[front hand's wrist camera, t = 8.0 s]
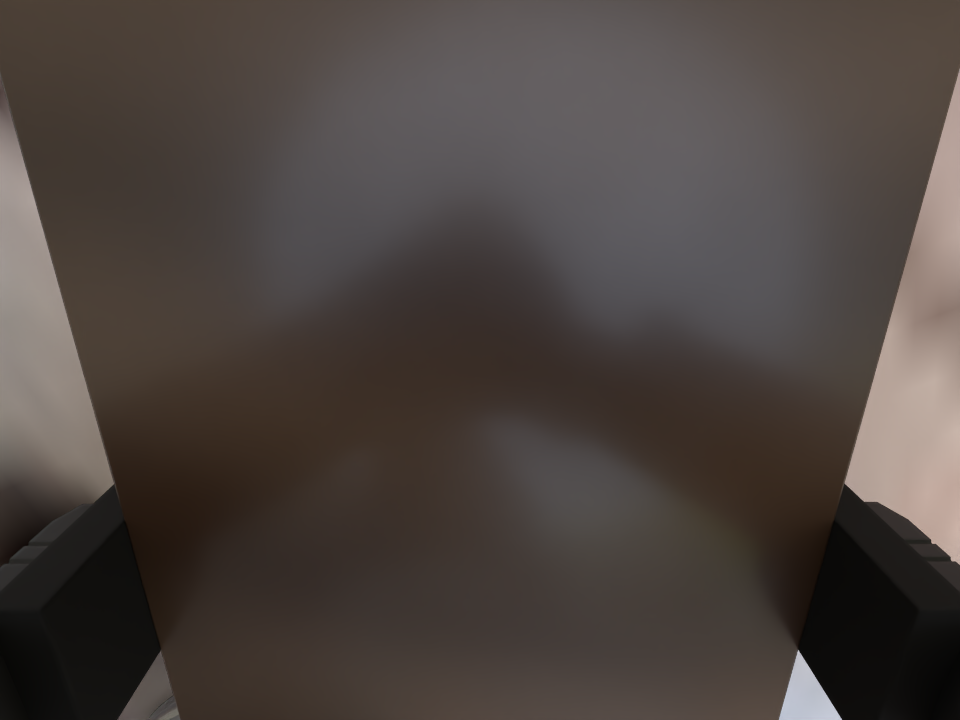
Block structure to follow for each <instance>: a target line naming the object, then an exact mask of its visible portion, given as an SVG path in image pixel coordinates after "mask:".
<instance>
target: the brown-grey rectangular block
mask: <svg viewBox="0 0 960 720" xmlns="http://www.w3.org/2000/svg"><path fill="white" fill-rule="evenodd" d="M959 69H960V0H0V77H1V81H2V84H3V88H4V91H5V95H6V98H7V102H8V106H9V109H10V113H11V116H12V120H13V123H14V127H15V131H16V134H17V138H18V141H19V145H20V148H21V152H22V156H23V159H24V163H25V166H26V170H27V173H28V177H29V181H30V184H31V188H32V191H33V195H34V199H35V202H36V206H37V209H38V213H39V216H40V220H41V224H42V227H43V231H44V234H45V238H46V241H47V245H48V249H49V252H50V256H51V259H52V263H53V266H54V270H55V274H56V277H57V281H58V284H59V288H60V291H61V295H62V299H63V302H64V306H65V309H66V313H67V317H68V320H69V324H70V327H71V331H72V334H73V338H74V342H75V345H76V349H77V352H78V356H79V359H80V363H81V367H82V370H83V374H84V377H85V381H86V384H87V388H88V392H89V395H90V399H91V402H92V406H93V409H94V413H95V417H96V420H97V424H98V427H99V431H100V435H101V438H102V442H103V445H104V449H105V452H106V456H107V460H108V463H109V467H110V470H111V474H112V477H113V481H114V485H115V488H116V492H117V495H118V499H119V502H120V506H121V510H122V513H123V517H124V520H125V524H126V527H127V531H128V535H129V538H130V542H131V545H132V549H133V553H134V556H135V560H136V563H137V567H138V570H139V574H140V578H141V581H142V585H143V588H144V592H145V595H146V599H147V603H148V606H149V610H150V613H151V617H152V620H153V624H154V628H155V631H156V635H157V638H158V642H159V645H160V649H161V653H162V656H163V660H164V663H165V667H166V671H167V674H168V678H169V681H170V685H171V688H172V692H173V696H174V699H175V703H176V706H177V710H178V713H179V717H180V720H779V717H780V713H781V709H782V706H783V702H784V699H785V695H786V691H787V688H788V684H789V681H790V677H791V673H792V670H793V666H794V663H795V659H796V655H797V652H798V648H799V645H800V641H801V637H802V634H803V630H804V627H805V623H806V619H807V616H808V612H809V609H810V605H811V601H812V598H813V594H814V591H815V587H816V583H817V580H818V576H819V573H820V569H821V565H822V562H823V558H824V555H825V551H826V547H827V544H828V540H829V537H830V533H831V529H832V526H833V522H834V519H835V515H836V511H837V508H838V504H839V501H840V497H841V494H842V490H843V486H844V483H845V479H846V476H847V472H848V468H849V465H850V461H851V458H852V454H853V450H854V447H855V443H856V440H857V436H858V432H859V429H860V425H861V422H862V418H863V414H864V411H865V407H866V404H867V400H868V396H869V393H870V389H871V386H872V382H873V378H874V375H875V371H876V368H877V364H878V360H879V357H880V353H881V350H882V346H883V342H884V339H885V335H886V332H887V328H888V324H889V321H890V317H891V314H892V310H893V306H894V303H895V299H896V296H897V292H898V288H899V285H900V281H901V278H902V274H903V270H904V267H905V263H906V260H907V256H908V252H909V249H910V245H911V242H912V238H913V234H914V231H915V227H916V224H917V220H918V216H919V213H920V209H921V206H922V202H923V198H924V195H925V191H926V188H927V184H928V180H929V177H930V173H931V170H932V166H933V162H934V159H935V155H936V152H937V148H938V144H939V141H940V137H941V134H942V130H943V126H944V123H945V119H946V116H947V112H948V108H949V105H950V101H951V98H952V94H953V90H954V87H955V83H956V80H957V76H958V72H959Z"/></svg>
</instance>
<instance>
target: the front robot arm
mask: <svg viewBox="0 0 960 720" xmlns="http://www.w3.org/2000/svg"><path fill="white" fill-rule="evenodd" d="M950 558H951V557H950V556H949V555H948V554H946V553H945V552H944V551H943V550H942V549H941V548H940V547H939V546H937V545H936V544H932V543H931V539H929V538H928V537H927V536H926V535H925V534H924V533H923V532H922V531H920V530H919V529H918V528H917V527H916V526H915V525H914V524H913V523H911V522H910V521H909V520H908V519H906V518H904V517H903V516H901V515H899V514H897V513H896V512H894V511H892V510H890V509H889V508H887V507H885V506H883V505H882V504H880V503H878V502H864V501H862V500H861V499H860V498H859V497H858V496H857V495H856V494H855V493H854V492H853V491H852V490H851V489H850V488H849V487H848V486H847V485H845V484H844V486H843V490H842V494H841V497H840V501H839V504H838V508H837V511H836V515H835V519H834V522H833V526H832V529H831V533H830V537H829V540H828V544H827V547H826V551H825V555H824V558H823V562H822V565H821V569H820V573H819V576H818V580H817V583H816V587H815V591H814V594H813V598H812V601H811V605H810V609H809V612H808V616H807V619H806V623H805V627H804V630H803V634H802V637H801V641H800V645H799V648H798V650H799V651H800V653H801V655H802V656H803V658H804V659H805V661H806V663H807V664H808V666H809V667H810V669H811V671H812V672H813V674H814V675H815V677H816V679H817V680H818V682H819V683H820V685H821V687H822V688H823V690H824V691H825V693H826V695H827V696H828V698H829V699H830V701H831V703H832V704H833V706H834V707H835V709H836V710H837V712H838V714H839V715H840V717H841V718H842V720H960V565H959V564H958V563H957V562H952V561H951V559H950ZM160 650H161V649H160V645H159V642H158V638H157V635H156V631H155V628H154V624H153V620H152V617H151V613H150V610H149V606H148V603H147V599H146V595H145V592H144V588H143V585H142V581H141V578H140V574H139V570H138V567H137V563H136V560H135V556H134V553H133V549H132V545H131V542H130V538H129V535H128V531H127V527H126V524H125V520H124V517H123V513H122V510H121V506H120V502H119V499H118V495H117V492H116V488H115V485H113V486H112V487H111V488H110V489H109V490H107V491H106V492H105V493H104V494H103V495H102V496H101V497H100V498H99V499H98V500H97V501H96V502H95V503H94V504H82V505H80V506H78V507H76V508H75V509H73V510H71V511H69V512H68V513H66V514H64V515H62V516H61V517H59V518H57V519H55V520H54V521H52V522H51V523H50V524H49V525H47V526H46V527H45V528H44V529H43V530H42V531H41V532H40V533H38V534H37V535H36V536H35V537H34V538H33V539H32V540H31V541H29V545H28V546H24V547H23V548H22V549H20V550H19V551H18V552H17V553H16V554H15V555H14V556H13V557H11V558H10V559H9V563H8V564H4V565H2V566H1V567H0V720H117V719H118V717H119V716H120V714H121V713H122V711H123V710H124V708H125V706H126V705H127V703H128V702H129V700H130V698H131V697H132V695H133V694H134V692H135V690H136V689H137V687H138V686H139V684H140V682H141V681H142V679H143V678H144V676H145V674H146V673H147V671H148V670H149V668H150V666H151V665H152V663H153V662H154V660H155V658H156V657H157V655H158V654H159V652H160ZM148 720H180V717H179V713H178V710H177V706H176V703H175V699H174V696H172V697H171V698H169V699H168V700H167V701H165V702H164V703H163V704H162V705H161V706H159V707H158V709H157V710H156V711H155V712H154V713H153V714H152V715H151V716H150V717H149V719H148Z"/></svg>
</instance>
